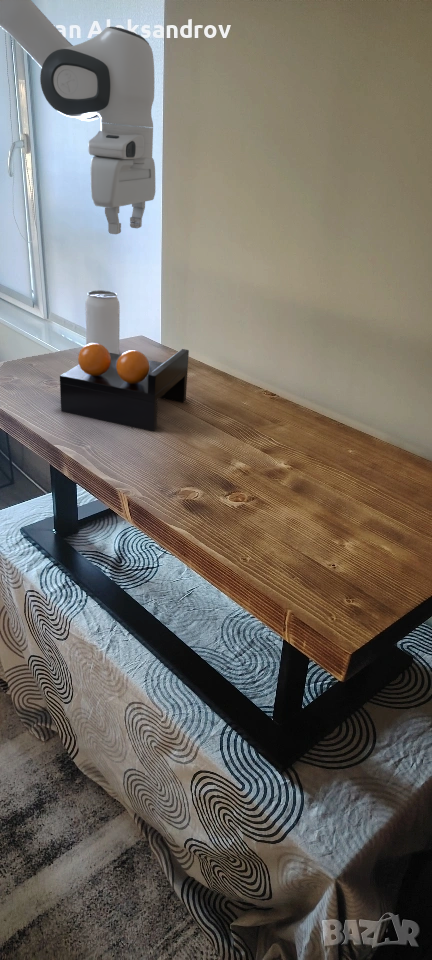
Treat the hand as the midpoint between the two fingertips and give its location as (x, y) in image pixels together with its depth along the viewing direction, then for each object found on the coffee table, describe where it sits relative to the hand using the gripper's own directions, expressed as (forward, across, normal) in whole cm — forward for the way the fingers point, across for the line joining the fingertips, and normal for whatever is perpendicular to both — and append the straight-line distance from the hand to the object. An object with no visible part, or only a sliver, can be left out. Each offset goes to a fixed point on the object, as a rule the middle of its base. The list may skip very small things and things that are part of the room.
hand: (125, 230), depth 114 cm
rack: (+24, +23, +11) cm, 35 cm away
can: (+24, +2, -4) cm, 24 cm away
